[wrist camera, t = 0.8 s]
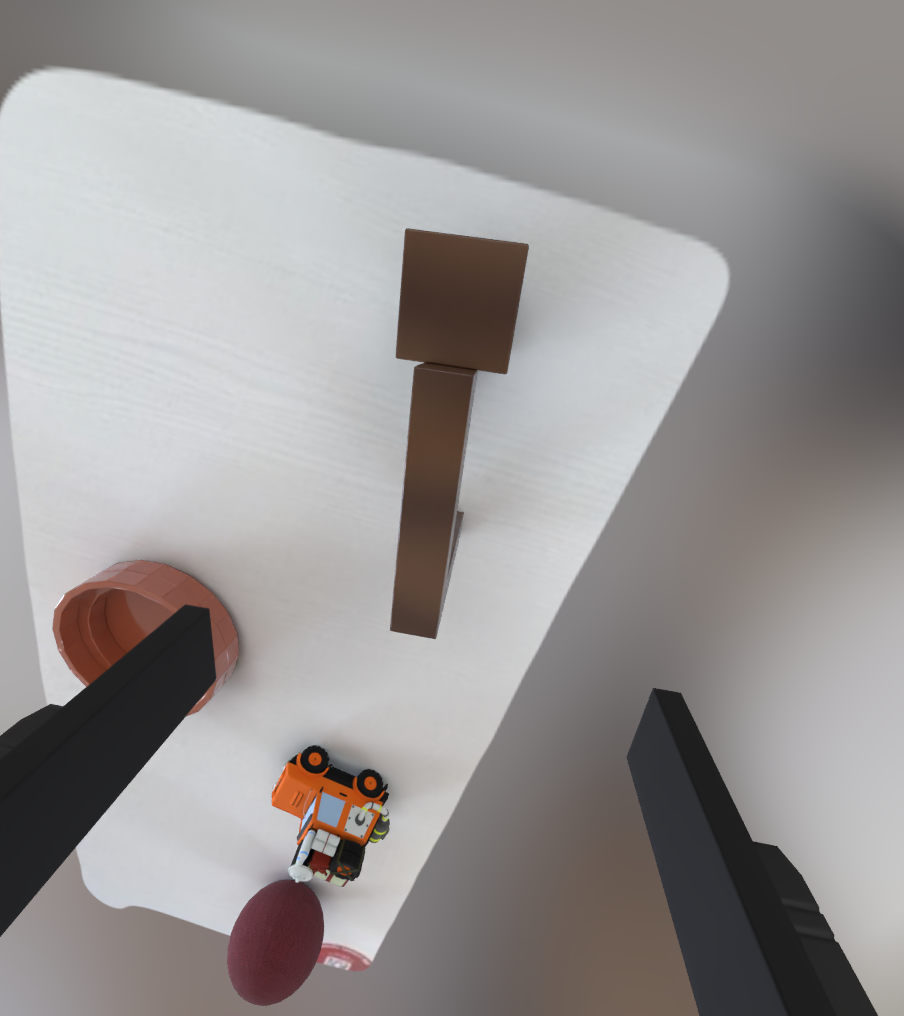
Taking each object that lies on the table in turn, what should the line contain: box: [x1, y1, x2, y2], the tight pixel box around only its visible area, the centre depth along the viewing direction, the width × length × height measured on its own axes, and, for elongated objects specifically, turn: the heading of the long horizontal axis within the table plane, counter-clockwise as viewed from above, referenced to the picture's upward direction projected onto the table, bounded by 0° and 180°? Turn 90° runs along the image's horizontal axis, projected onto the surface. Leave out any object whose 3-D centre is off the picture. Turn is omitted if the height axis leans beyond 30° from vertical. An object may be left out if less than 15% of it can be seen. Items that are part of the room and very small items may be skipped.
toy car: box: [272, 746, 390, 887], centre depth 41 cm, size 7×12×9 cm, turn 66°
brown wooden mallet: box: [390, 229, 529, 639], centre depth 25 cm, size 18×5×12 cm, turn 173°
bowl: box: [52, 560, 239, 716], centre depth 39 cm, size 14×14×4 cm
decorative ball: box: [227, 880, 324, 1006], centre depth 49 cm, size 10×10×10 cm
